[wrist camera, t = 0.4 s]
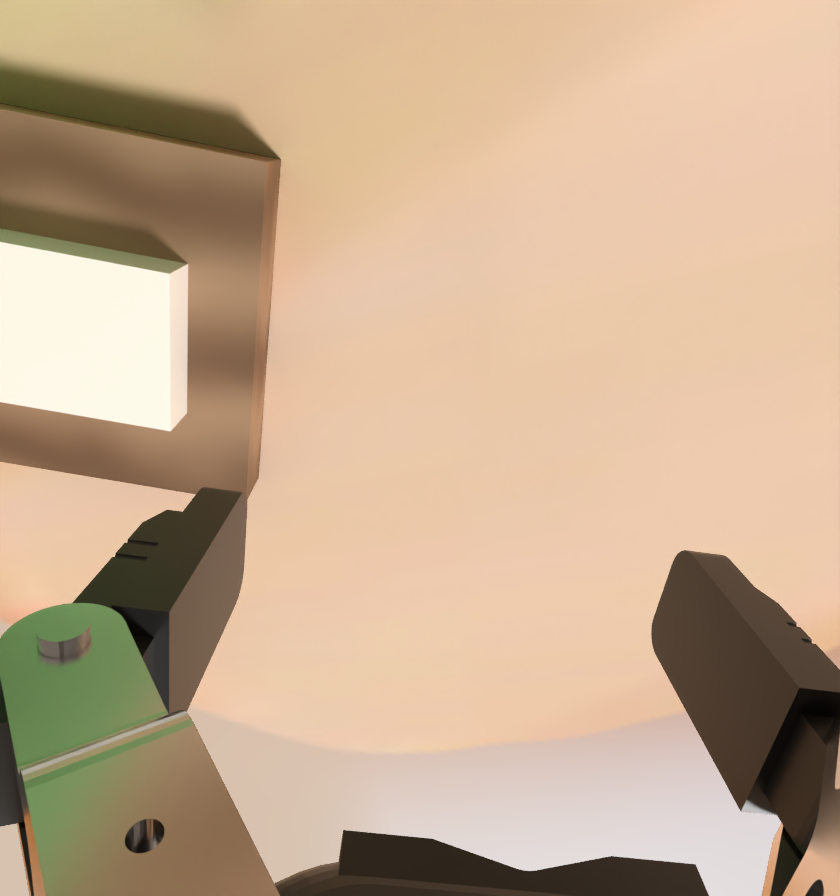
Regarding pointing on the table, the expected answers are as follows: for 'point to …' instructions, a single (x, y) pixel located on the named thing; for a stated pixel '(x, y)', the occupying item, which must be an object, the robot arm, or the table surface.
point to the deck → (166, 237)
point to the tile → (92, 331)
